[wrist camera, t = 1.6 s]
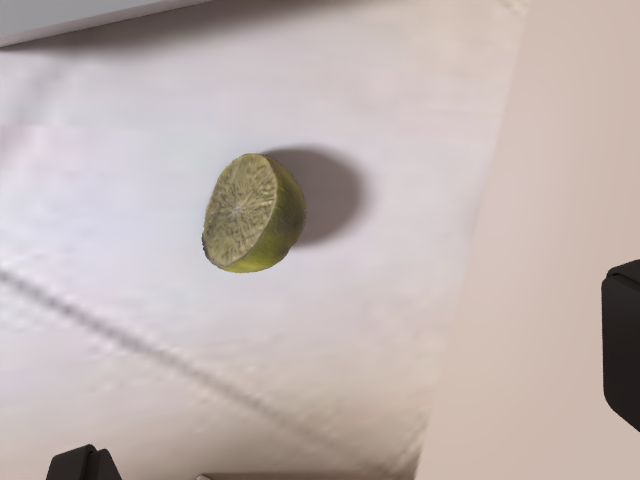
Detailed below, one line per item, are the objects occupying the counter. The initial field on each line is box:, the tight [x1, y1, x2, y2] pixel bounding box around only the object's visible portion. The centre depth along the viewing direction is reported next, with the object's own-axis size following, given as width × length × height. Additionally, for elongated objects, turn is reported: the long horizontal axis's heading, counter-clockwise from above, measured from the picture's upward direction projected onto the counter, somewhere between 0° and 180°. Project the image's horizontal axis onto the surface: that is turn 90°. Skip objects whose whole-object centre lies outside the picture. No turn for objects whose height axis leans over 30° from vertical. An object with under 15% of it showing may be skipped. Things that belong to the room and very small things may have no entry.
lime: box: [202, 154, 306, 273], centre depth 23 cm, size 4×5×5 cm
